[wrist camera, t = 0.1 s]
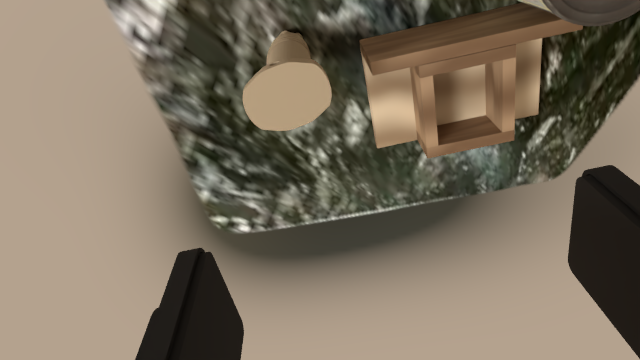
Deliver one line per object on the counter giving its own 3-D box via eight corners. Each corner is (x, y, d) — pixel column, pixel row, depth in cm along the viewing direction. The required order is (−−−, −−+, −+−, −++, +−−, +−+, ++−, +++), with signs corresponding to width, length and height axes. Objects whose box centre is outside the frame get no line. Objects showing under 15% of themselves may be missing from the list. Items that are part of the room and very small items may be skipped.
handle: (327, 56, 45) (340, 112, 32) (270, 78, 46) (260, 140, 33) (310, 10, 43) (317, 50, 30) (250, 34, 44) (231, 83, 31)
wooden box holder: (359, 39, 44) (370, 62, 38) (538, -1, 43) (583, 14, 36) (375, 143, 51) (388, 178, 44) (533, 110, 49) (571, 141, 43)
